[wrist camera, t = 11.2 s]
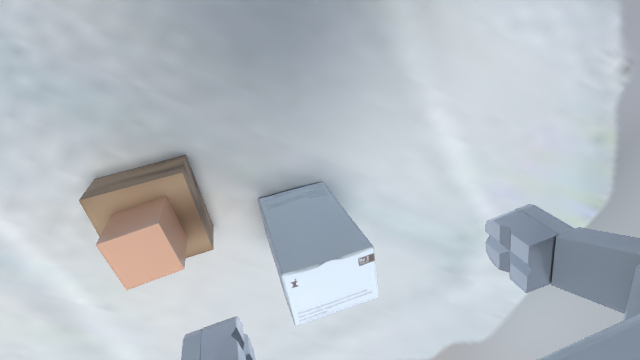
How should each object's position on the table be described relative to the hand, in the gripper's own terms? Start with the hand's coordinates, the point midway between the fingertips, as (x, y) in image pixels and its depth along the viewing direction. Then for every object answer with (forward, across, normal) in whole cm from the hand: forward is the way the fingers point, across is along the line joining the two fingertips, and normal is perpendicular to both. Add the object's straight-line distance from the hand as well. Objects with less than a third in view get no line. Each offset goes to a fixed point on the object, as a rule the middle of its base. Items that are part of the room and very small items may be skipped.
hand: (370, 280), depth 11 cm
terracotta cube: (+24, +14, +8) cm, 29 cm away
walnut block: (+29, +14, +8) cm, 33 cm away
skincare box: (+29, 0, +14) cm, 32 cm away
